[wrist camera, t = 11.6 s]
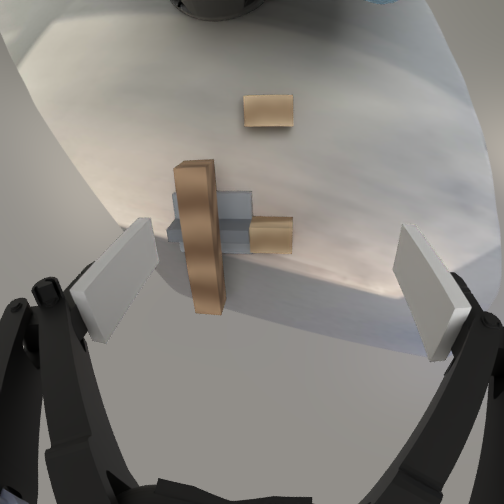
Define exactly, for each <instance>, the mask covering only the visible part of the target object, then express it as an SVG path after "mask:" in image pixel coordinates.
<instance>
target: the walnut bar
mask: <svg viewBox="0 0 504 504" xmlns="http://www.w3.org/2000/svg"><path fill="white" fill-rule="evenodd" d="M173 170H174V178H175V187H176V194H177V202H178V210H179V217H180V224H181V231H182V237H183V244H184V250H185V256H186V262H187V268H188V274H189V280H190V286H191V291H192V297H193V301H194V307H195V312H196V313H200V314H211V315H222V311H223V308H224V305H225V301H226V291H225V281H224V271H223V261H222V250H221V240H220V229H219V217H218V205H217V193H216V180H215V167H214V159H212V160H189V161H183V162H182V163H180V164H179V165H178V166H176V167H175V168H174V169H173Z"/></svg>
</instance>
